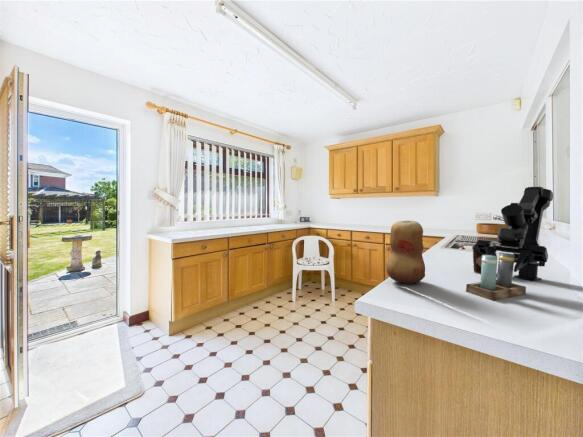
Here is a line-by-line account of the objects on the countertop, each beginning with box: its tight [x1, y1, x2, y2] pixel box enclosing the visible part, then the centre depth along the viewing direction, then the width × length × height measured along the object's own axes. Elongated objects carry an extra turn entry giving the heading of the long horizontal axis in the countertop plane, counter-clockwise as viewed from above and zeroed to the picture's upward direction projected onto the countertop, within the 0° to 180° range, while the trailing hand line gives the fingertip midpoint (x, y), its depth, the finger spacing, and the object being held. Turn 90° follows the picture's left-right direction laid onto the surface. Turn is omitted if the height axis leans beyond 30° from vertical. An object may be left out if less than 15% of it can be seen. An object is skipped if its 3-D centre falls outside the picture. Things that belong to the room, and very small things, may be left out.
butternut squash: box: [385, 219, 426, 285], centre depth 96 cm, size 14×13×25 cm
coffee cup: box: [471, 243, 487, 275], centre depth 111 cm, size 9×8×13 cm
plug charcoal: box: [496, 252, 515, 288], centre depth 86 cm, size 4×4×13 cm
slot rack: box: [465, 279, 527, 302], centre depth 84 cm, size 17×9×4 cm, turn 110°
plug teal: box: [480, 255, 498, 291], centre depth 83 cm, size 4×4×13 cm
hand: (502, 269), depth 85 cm, fingers open, 6 cm apart
